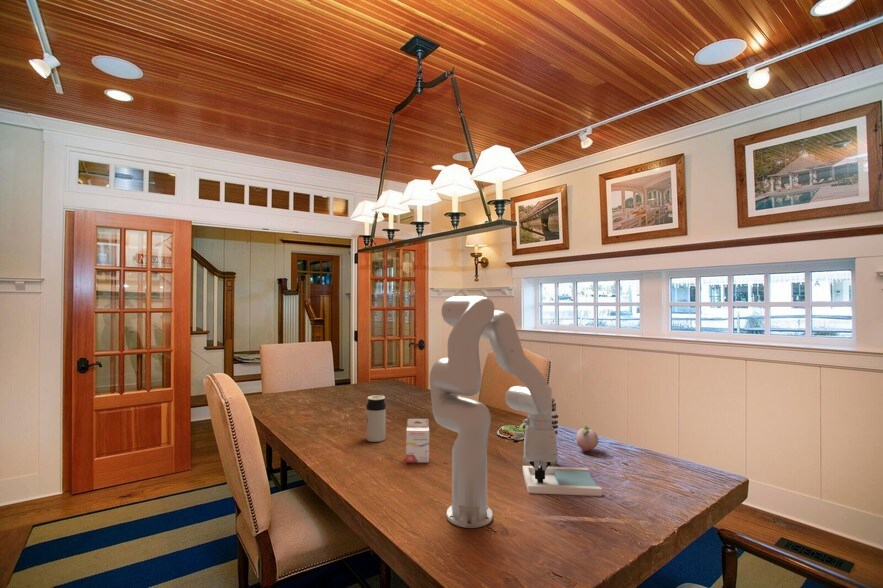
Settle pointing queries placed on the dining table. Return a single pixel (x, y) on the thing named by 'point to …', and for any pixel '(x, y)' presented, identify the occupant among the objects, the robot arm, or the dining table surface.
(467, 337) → the robot arm
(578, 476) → the cover plate
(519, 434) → the plate of avocado toast
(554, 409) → the decorative candle
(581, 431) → the decorative fruit
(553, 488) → the white flat tray
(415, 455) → the ink cartridge box
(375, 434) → the travel mug
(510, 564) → the dining table surface
